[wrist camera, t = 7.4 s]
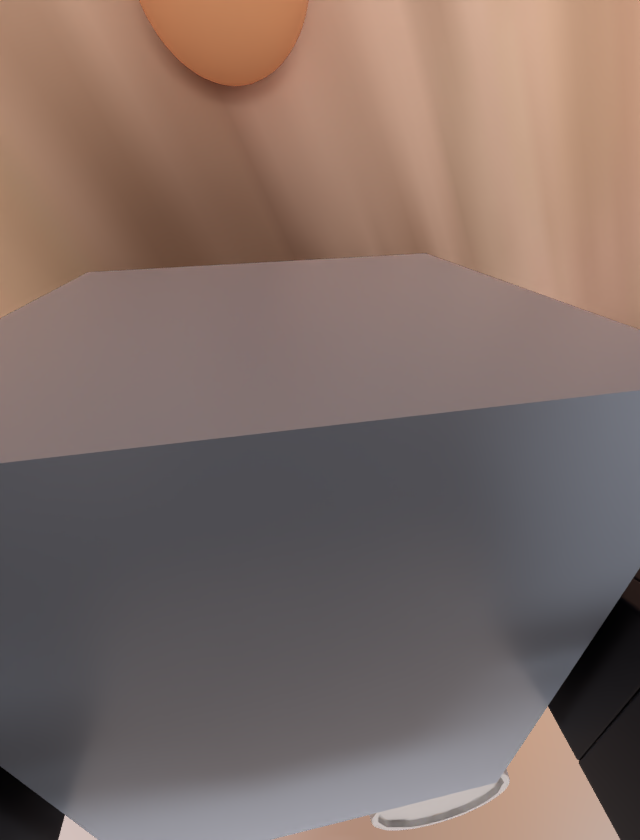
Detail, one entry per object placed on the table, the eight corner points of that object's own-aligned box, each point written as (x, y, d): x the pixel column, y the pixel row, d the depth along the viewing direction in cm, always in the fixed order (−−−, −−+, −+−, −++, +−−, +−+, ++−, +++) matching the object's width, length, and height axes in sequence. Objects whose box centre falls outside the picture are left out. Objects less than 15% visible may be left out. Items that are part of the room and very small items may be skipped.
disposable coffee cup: (308, 607, 30) (339, 814, 20) (417, 561, 30) (506, 751, 19) (350, 657, 35) (391, 843, 25) (443, 618, 35) (525, 794, 24)
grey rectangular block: (425, 253, 9) (768, 375, 3) (393, 537, 14) (496, 782, 8) (87, 272, 8) (-352, 503, 2) (187, 570, 13) (141, 872, 7)
